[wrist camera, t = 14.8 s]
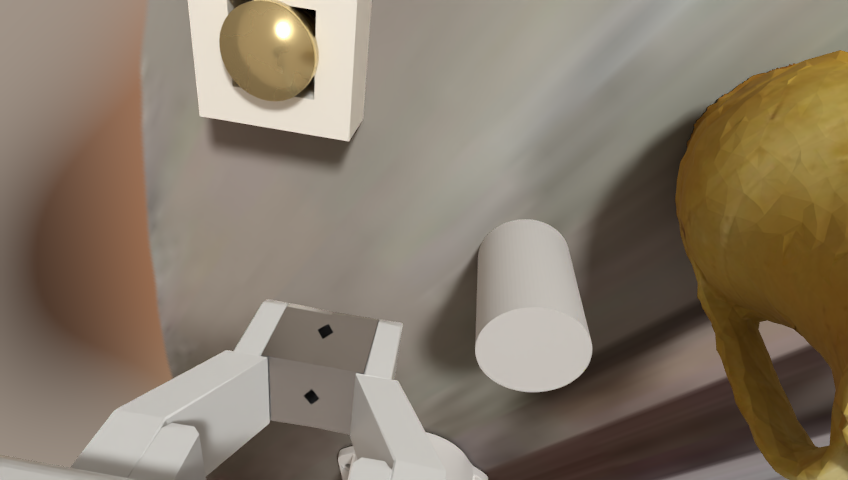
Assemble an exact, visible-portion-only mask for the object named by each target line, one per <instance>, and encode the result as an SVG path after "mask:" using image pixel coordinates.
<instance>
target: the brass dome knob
mask: <svg viewBox="0 0 848 480" xmlns="http://www.w3.org/2000/svg"><path fill="white" fill-rule="evenodd" d="M315 35H316V18H315V17H314V15H313V14H312V13H310V12H309V11H308V10H306V9H305V8H299V7H293V6H289V5H287V4H285V3H283V2H280V1H278V0H253V1H249V2H246V3H244V4H241V5H239V6H238V7H236V8H235V9H233V10H232V11H231V12H230V13H229V14H228V16H227V17H226V19H225V20H224V22H223V25H222V27H221V31H220V38H219V46H220V53H221V57H222V60H223V63H224V65H225V67H226V69H227V71H228V73H229V74H230V76H231V77H232V79H233V80H234V81H235V82H236V83H237V84H238V85H239V86H240V87H241V88H242V89H243V90H245V91H246V92H247V93H249V94H251V95H253V96H255V97H257V98H259V99H262V100H267V101H284V100H287V99H290V98H292V97H294V96H296V95H297V94H299V93H300V92H301V91H302V90H303V89H305V88H306V87H307V86H308V85H309V83H310V82H311V81H312V79H313V78H314V76H315V73H316V71H317V67H318V61H319V51H318V45H317V41H316V38H315Z"/></svg>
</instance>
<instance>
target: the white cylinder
mask: <svg viewBox="0 0 848 480" xmlns="http://www.w3.org/2000/svg"><path fill="white" fill-rule="evenodd" d="M475 354H476V359H477V362H478V364H479V366H480V368H481V369H482V371H483V372H484V373H485V374H486V375H487V376H488V377H489V378H490V379H492V380H493V381H495V382H496V383H498V384H500V385H502V386H504V387H507V388H510V389H513V390H517V391H523V392H543V391H549V390H554V389H557V388H560V387H563V386H565V385H567V384H569V383H571V382H572V381H574V380H575V379H576V378H578V377H579V376H580V375H581V374H582V373H583V372H584V371H585V369H586V368H587V366H588V364H589V362H590V360H591V356H592V342H591V338H590V334H589V330H588V326H587V322H586V318H585V314H584V310H583V306H582V302H581V298H580V293H579V289H578V285H577V281H576V277H575V273H574V269H573V265H572V261H571V257H570V253H569V249H568V245H567V243H566V241H565V239H564V238H563V236H562V235H561V234H560V233H559V232H558V231H557V230H556V229H555V228H553V227H552V226H550V225H548V224H546V223H543V222H540V221H536V220H529V219H521V220H514V221H510V222H507V223H504V224H502V225H500V226H498V227H496V228H495V229H493V230H492V231H491V232H490V233H489V234H488V235H487V236H486V237H485V239H484V240H483V242H482V244H481V246H480V249H479V253H478V275H477V307H476V339H475Z"/></svg>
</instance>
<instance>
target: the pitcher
mask: <svg viewBox="0 0 848 480" xmlns="http://www.w3.org/2000/svg"><path fill="white" fill-rule="evenodd" d="M694 127H695V128H694V130H693V133H692V134H691V139H690V140H688V142H687V151H686V153H685V155H684V157H683V158H682V160H681V162H680V167H679V172H678V178H677V187H676V197H675V202H676V208H677V211H676V214H677V217H678V220H679V225H680V235H681V238H682V241H683V245H684V248H685V251H686V254H687V256H688V258H689V260H690V262H691V264H692V266H693V269H694V273H695V276H696V279H697V282H698V289H697V298H698V299H699V300H700V301H701V305H702V308H703V310H704V311H705V313H706V315H707V316H708V318H709V320H710V321H711V323H712V327H713V330H714V332H715V335H716V350H717V351H718V353H719V355H720V357H721V360H722V363H723V365H724V368H725V371H726V374H727V377H728V380H729V382H730V385H731V387H732V389H733V393H734V397H735V401H736V404H737V406H738V408H739V409H740V411H741V413H742V415H743V417H744V418H745V420H746V421H747V423H748V424H749V427H750V430H751V432H752V435H753V438H754V440H755V443H756V445H757V446H758V448H759V449H760V451H761V453H762V454H763V456H764V457H765V459H766V460H767V461H768V463H769V464H770V465H771V466H772V468H773V469H774V470H775V471H776V472H777V473H779V474H780V475H782V476H783V477H785V478H787V479H789V480H848V52H845V51H841V50H840V51H836V52H833V53H829V54H826V55H822V56H819V57H815V58H812V59H808V60H805V61H803V62H800V63H798V64H793V65H790V64H789V66H788V67H781V68H776V69H775V70H772V71H769V72H768V73H761V74H757V75H753V76H752V77H750V78H749V79H748V80H747V81H744V83H743V84H740V85H738V86H737V87H736V88H735V89H734V90H733V91H731V92H729V93H728V94H724V96H722V97H720V98H719V99H718V101H717V103H715V104H712V105H710V106H708V107H707V111H706V112H705V113H703V115H702V117H700V118H699V119H698V120H696V124H694ZM766 320H768V321H771V322H774V323H778V324H782V325H785V326H787V327H790V328H793V329H794V330H795V331H797V332H798V333H799V334H800V335H801V336H803V337H804V338H805V339H806V341H807V342H808V343H809V344H810V345H811V346H812V347H813V348H815V349H816V350H817V351H818V352H819V353H820V354H821V355H822V357H823V358H824V359H825V361H826V362H827V363H828V365H829V366H830V367H831V369H832V373H833V378H834V383H835V388H836V392H835V398H834V403H833V408H832V419H831V434H830V445H829V446H825V447H820V448H819V447H816V446H815V445H814V444H813V442H812V441H811V439H810V438H809V436H808V435H807V433H806V431H805V430H804V429H803V427H802V426H801V425H800V423H799V422H798V420H797V419H796V416H795V413H794V411H793V409H792V407H791V404H790V402H789V400H788V398H787V396H786V394H785V392H784V390H783V388H782V387H781V385H780V382H779V379H778V377H777V374H776V372H775V370H774V368H773V365H772V362H771V358H770V355H769V353H768V351H767V349H766V347H765V344H764V342H763V339H762V337H761V335H760V332H759V330H758V329H759V322H761V321H766Z"/></svg>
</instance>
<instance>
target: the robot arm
mask: <svg viewBox="0 0 848 480" xmlns="http://www.w3.org/2000/svg"><path fill="white" fill-rule="evenodd" d="M402 329H403V324H402V323H400V322H394V321H388V320H381V319H380V320H379V319H373V318H367V317H361V316H356V315H350V314H344V313H338V312H332V311H327V310H322V309H317V308H312V307H307V306H302V305H297V304H292V303H290V304H289V303H285V302H280V301H275V300H270V299H267V300H265V301H264V302H263V303H262V304H261V306H260V307H259V309H258V311H257V312H256V314H255V316H254V317H253V319H252V321H251V322H250V324H249V326H248V327H247V329H246V331H245V332H244V334H243V336H242V337H241V339H240V341H239V342H238V344H237V346H236V347H235V349H234V351H229V350H225V351H223V352H222V353H220V354H218V355H216V356H214V357H212V358H210V359H209V360H207V361H205V362H203V363H201V364H199V365H197V366H196V367H194V368H192V369H190V370H188V371H186V372H184V373H183V374H181V375H179V376H177V377H175V378H173V379H171V380H170V381H168V382H166V383H164V384H162V385H160V386H158V387H157V388H155V389H153V390H151V391H149V392H147V393H145V394H144V395H142V396H140V397H138V398H136V399H134V400H133V401H131V402H129V403H127V404H125V405H123V406H121V407H119V408H118V409H116V410H114V412H113V413H112V414H111V415H110V417H109V418H108V419H107V421H106V422H105V423H104V425H103V426H102V427H101V429H100V430H99V431H98V432H97V434H96V435H95V436H94V437H93V439H92V440H91V442H90V443H89V444H88V445H87V447H86V448H85V449H84V450H83V452H82V453H81V454H80V455H79V457H78V458H77V459H76V461H75V462H74V463H73V465H72V466H71V467H64V466H59V465H53V464H47V463H42V462H37V461H32V460H26V459H21V458H15V457H10V456H4V455H0V480H206V476H207V475H208V474H210V473H211V472H212V471H213V470H214V469H215V468H217V467H218V466H219V465H220V464H221V463H223V462H224V461H225V460H226V459H227V458H229V457H230V456H231V455H232V454H233V453H235V452H236V451H237V450H238V449H239V448H241V447H242V446H243V445H244V444H245V443H246V442H248V441H249V440H250V439H251V438H252V437H254V436H255V435H256V434H257V433H258V432H260V431H261V430H262V429H263V428H264V427H266V426H267V425H268V424H269V423H270V420H271V421H277V422H284V423H290V424H297V425H303V426H310V427H315V428H320V429H324V430H329V431H334V432H339V433H343V434H348V435H350V438H351V441H352V444H353V446H351V447H347V448H344V449H341V450H340V451H339V456H338V463H339V467H340V471H341V475H342V480H488V477H487V475H486V474H484V473H483V472H482V471H480V470H479V469H477V468H476V467H474V466H473V465H472V464H471V463H470V462H469V460H468V459H467V457H466V456H465V454H464V453H463V452H462V451H461V450H460V449H459V448H458V447H457V446H455V445H454V444H453V443H451V442H449V441H448V440H446V439H444V438H442V437H439V436H437V435H434V434H431V433H427V432H425V430H424V429H423V427H422V425H421V423H420V421H419V419H418V417H417V415H416V413H415V412H414V410H413V408H412V406H411V404H410V402H409V400H408V398H407V396H406V395H405V393H404V391H403V389H402V387H401V385H400V383H399V381H397V380H395V373H396V367H397V361H398V354H399V348H400V342H401V335H402Z"/></svg>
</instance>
